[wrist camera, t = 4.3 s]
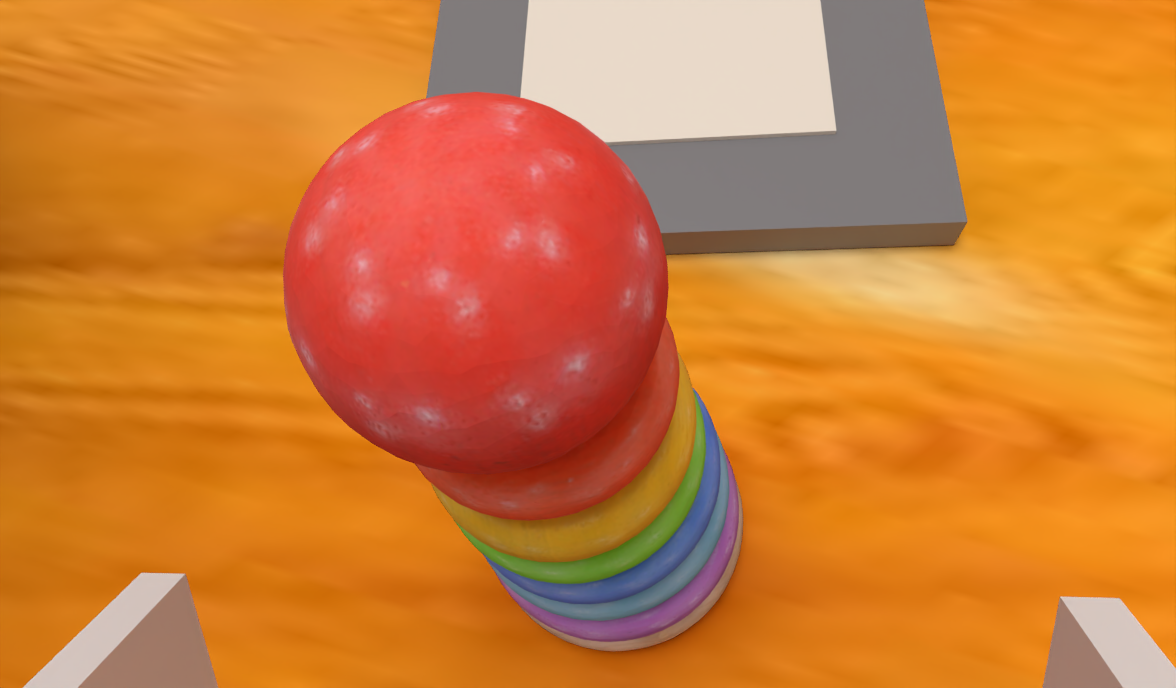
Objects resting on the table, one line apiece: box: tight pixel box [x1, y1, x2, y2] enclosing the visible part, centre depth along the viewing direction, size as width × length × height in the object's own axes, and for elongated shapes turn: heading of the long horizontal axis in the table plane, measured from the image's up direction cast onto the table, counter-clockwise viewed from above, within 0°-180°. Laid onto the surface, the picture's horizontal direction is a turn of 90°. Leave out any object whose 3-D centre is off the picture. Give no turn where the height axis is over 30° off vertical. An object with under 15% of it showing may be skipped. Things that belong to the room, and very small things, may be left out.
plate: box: [426, 0, 967, 254], centre depth 32 cm, size 20×20×2 cm
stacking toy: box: [283, 92, 743, 651], centre depth 17 cm, size 8×8×19 cm
